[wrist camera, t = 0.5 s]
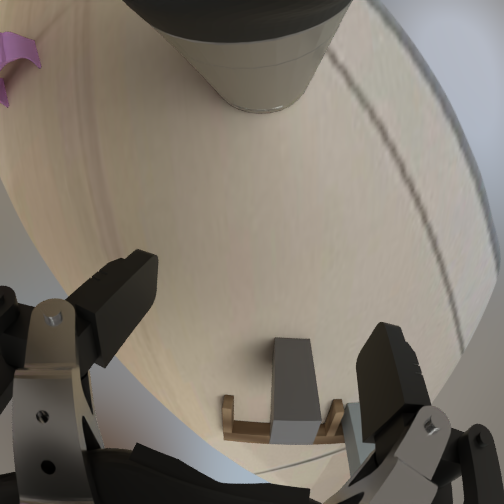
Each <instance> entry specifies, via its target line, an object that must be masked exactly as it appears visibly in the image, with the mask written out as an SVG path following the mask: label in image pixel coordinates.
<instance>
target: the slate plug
mask: <svg viewBox="0 0 504 504" xmlns="http://www.w3.org/2000/svg"><path fill="white" fill-rule="evenodd" d="M341 423H342V428H343V434H344V439H345V445H346V451H347V457H348V463H349V469H350V475H351V476H352V475H353V474H354V473H355V472H356V470H357V469H358V468H359V467H360V466H361V464H362V463H363V462H364V460H365V459H366V458H367V457H368V455H369V454H370V453H371V452H372V451H373V450H374V449H375V444H373V443H362V427H361V413H360V403H348V404H347V406H346V408H345V411H344V415H343V417H342V419H341Z"/></svg>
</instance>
